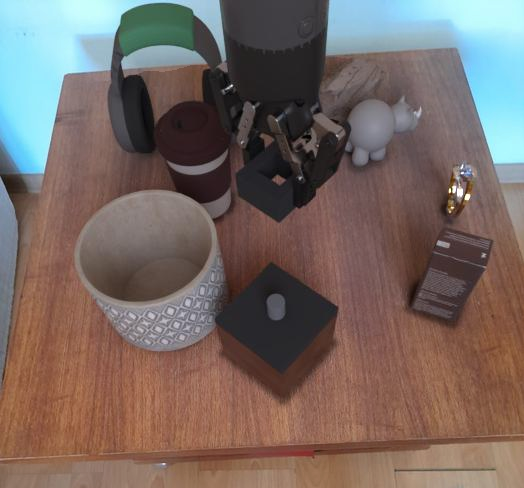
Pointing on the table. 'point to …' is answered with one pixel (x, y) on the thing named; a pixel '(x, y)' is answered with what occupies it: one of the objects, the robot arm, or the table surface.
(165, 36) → the headphones
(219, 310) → the planter
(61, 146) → the table surface
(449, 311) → the box
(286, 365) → the base pad
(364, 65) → the stone
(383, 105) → the chubby cartoon animal
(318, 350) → the stand
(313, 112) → the robot arm
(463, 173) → the ring
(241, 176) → the top pad
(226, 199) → the coffee cup
